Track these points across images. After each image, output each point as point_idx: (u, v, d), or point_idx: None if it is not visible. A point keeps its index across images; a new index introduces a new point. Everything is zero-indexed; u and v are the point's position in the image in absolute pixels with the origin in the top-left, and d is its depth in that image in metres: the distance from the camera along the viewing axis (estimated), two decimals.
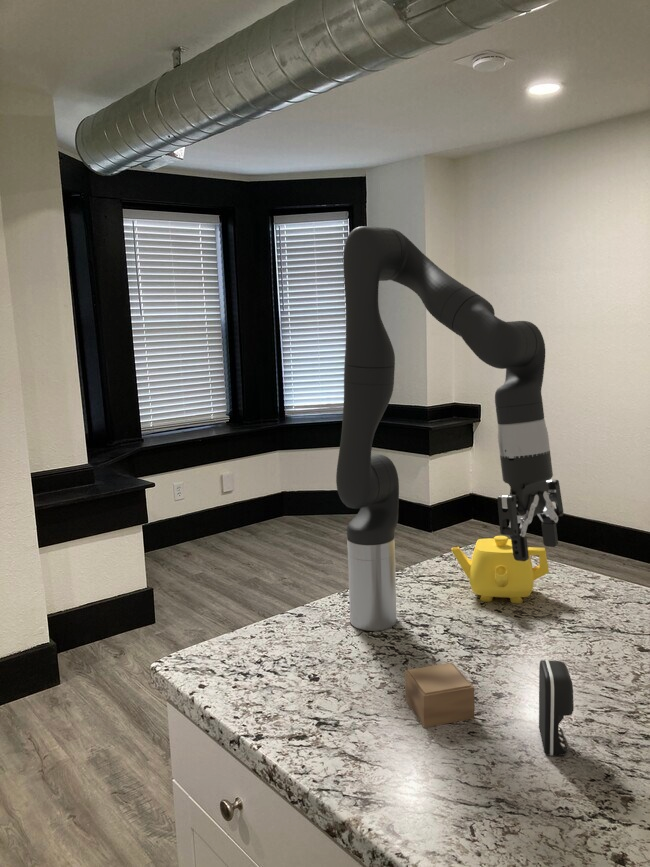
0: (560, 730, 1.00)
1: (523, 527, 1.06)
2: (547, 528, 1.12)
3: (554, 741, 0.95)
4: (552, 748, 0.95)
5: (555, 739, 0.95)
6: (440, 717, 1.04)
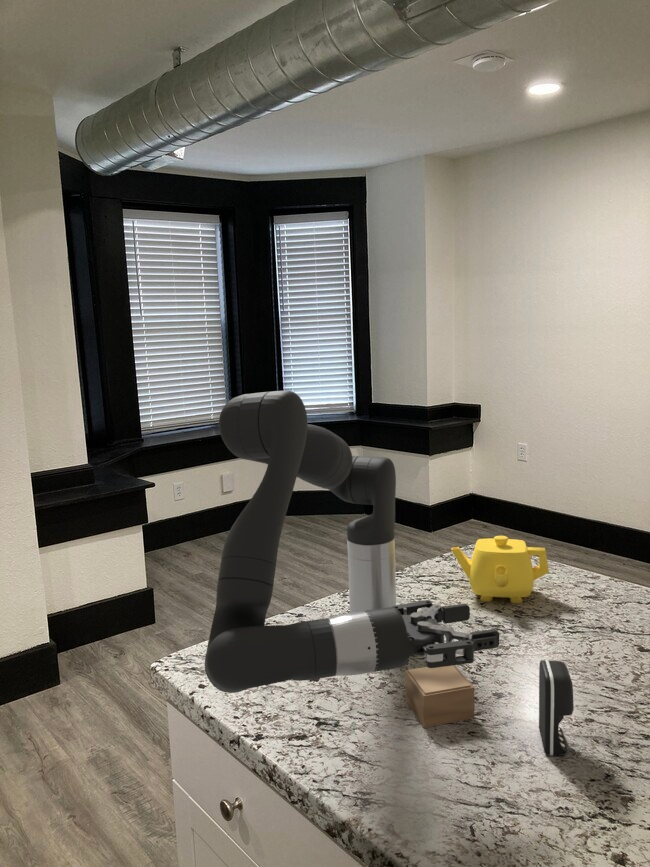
0: (560, 730, 1.00)
1: None
2: None
3: (554, 741, 0.95)
4: (552, 747, 0.95)
5: (555, 739, 0.95)
6: (440, 717, 1.04)
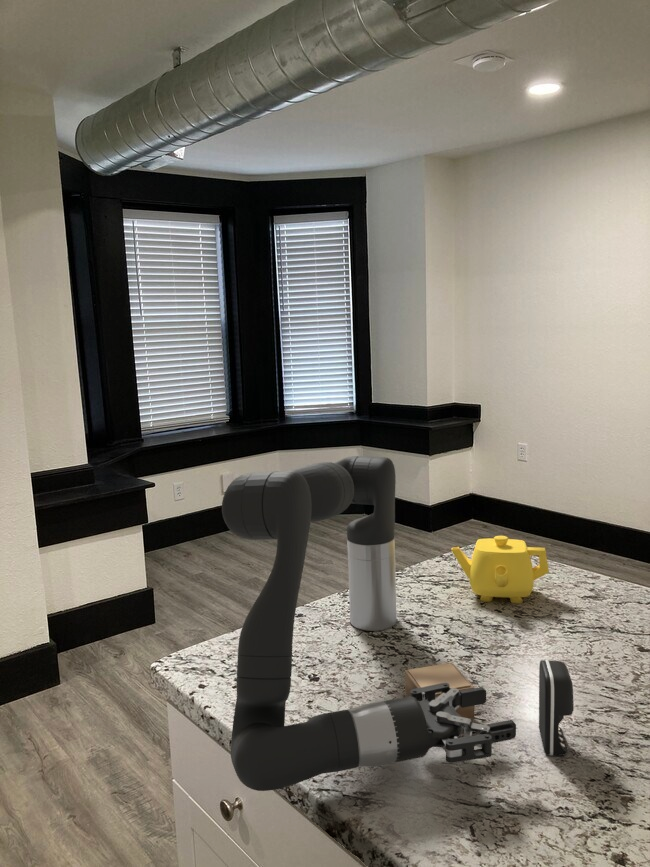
0: (560, 730, 1.00)
1: None
2: None
3: (554, 741, 0.95)
4: (552, 747, 0.95)
5: (555, 739, 0.95)
6: None
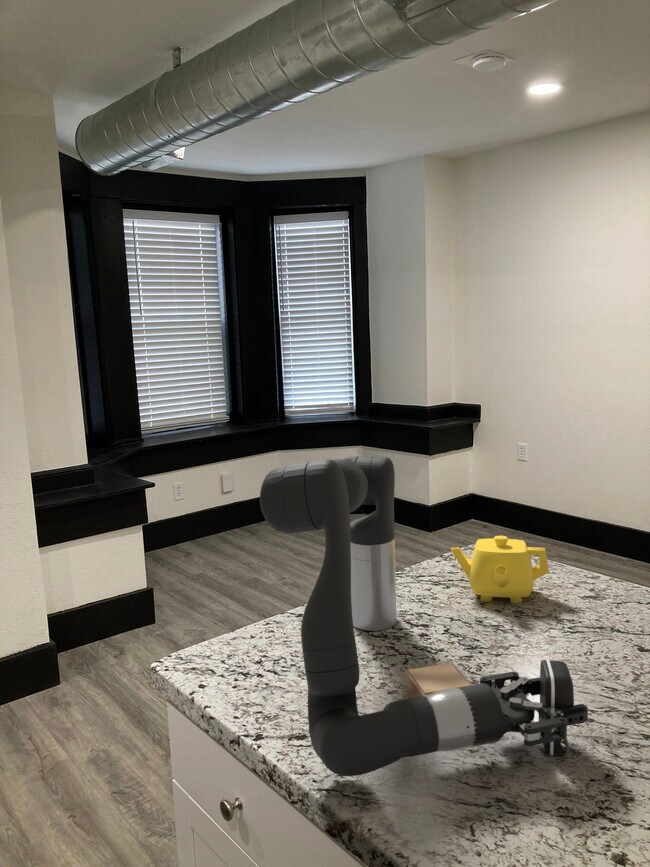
0: None
1: None
2: None
3: (554, 741, 0.95)
4: (552, 747, 0.95)
5: None
6: None
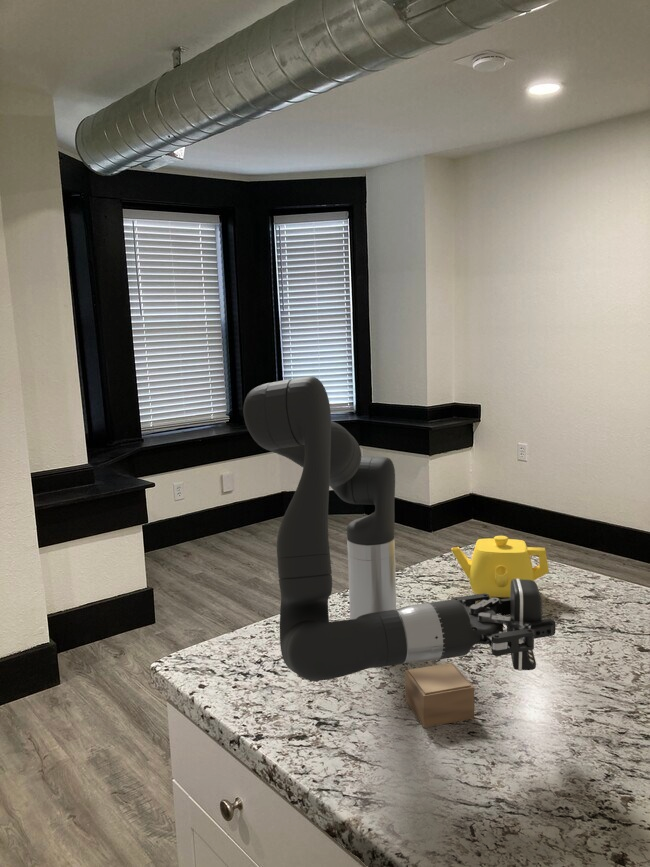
0: None
1: None
2: None
3: (523, 656, 0.96)
4: (521, 662, 0.96)
5: (524, 654, 0.96)
6: (440, 717, 1.04)
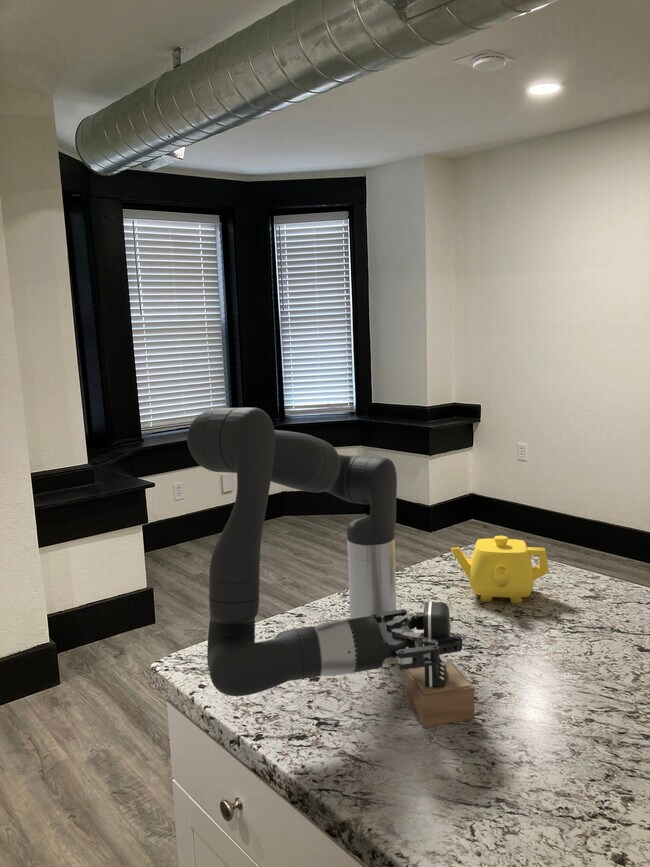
0: (444, 667, 1.09)
1: None
2: None
3: (433, 673, 1.04)
4: (431, 680, 1.04)
5: (433, 672, 1.04)
6: (440, 717, 1.04)
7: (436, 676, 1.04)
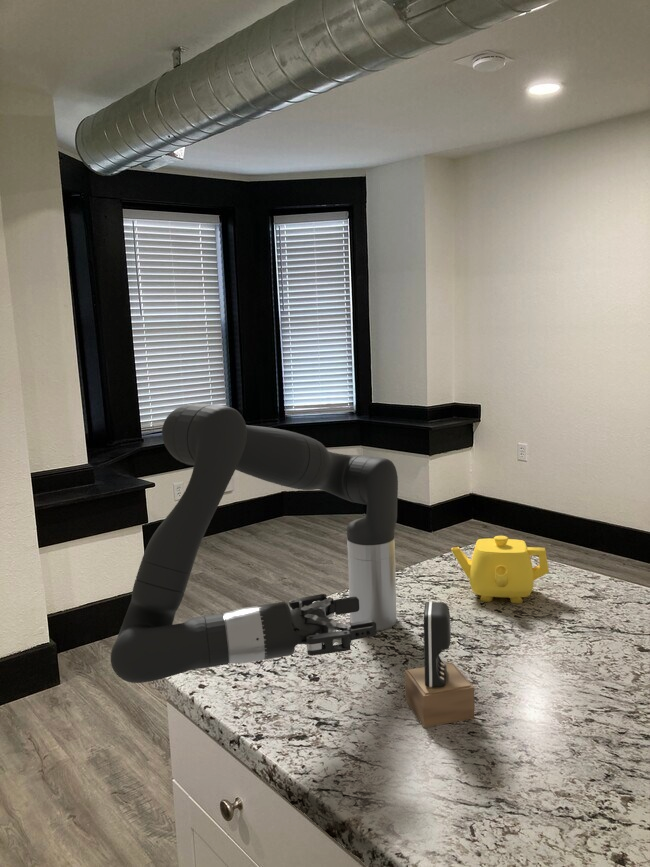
0: (444, 667, 1.09)
1: (325, 615, 1.07)
2: None
3: (433, 674, 1.04)
4: (431, 680, 1.04)
5: (433, 672, 1.04)
6: (440, 717, 1.04)
7: (436, 676, 1.04)
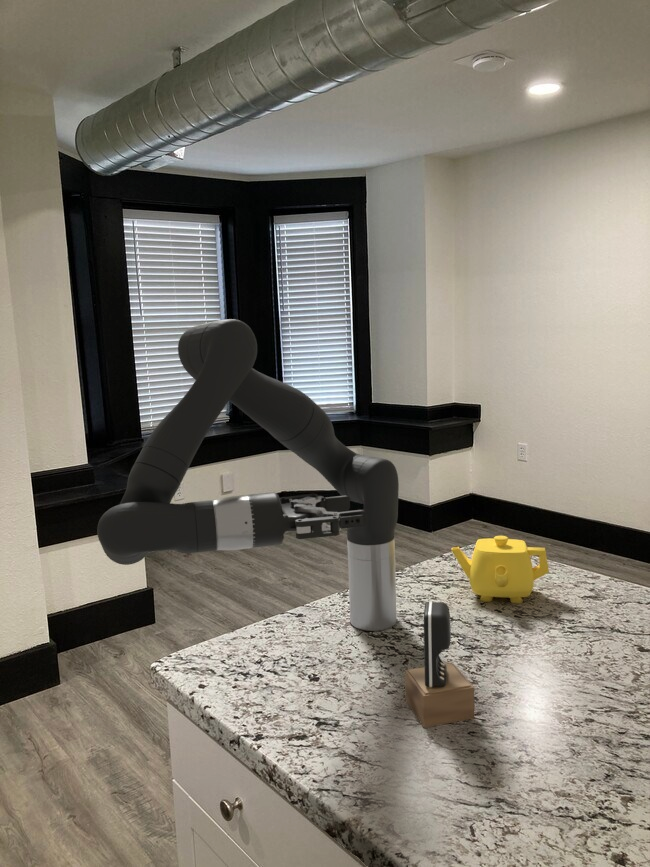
0: (444, 667, 1.09)
1: None
2: None
3: (433, 674, 1.04)
4: (431, 680, 1.04)
5: (433, 672, 1.04)
6: (440, 717, 1.04)
7: (436, 676, 1.04)
